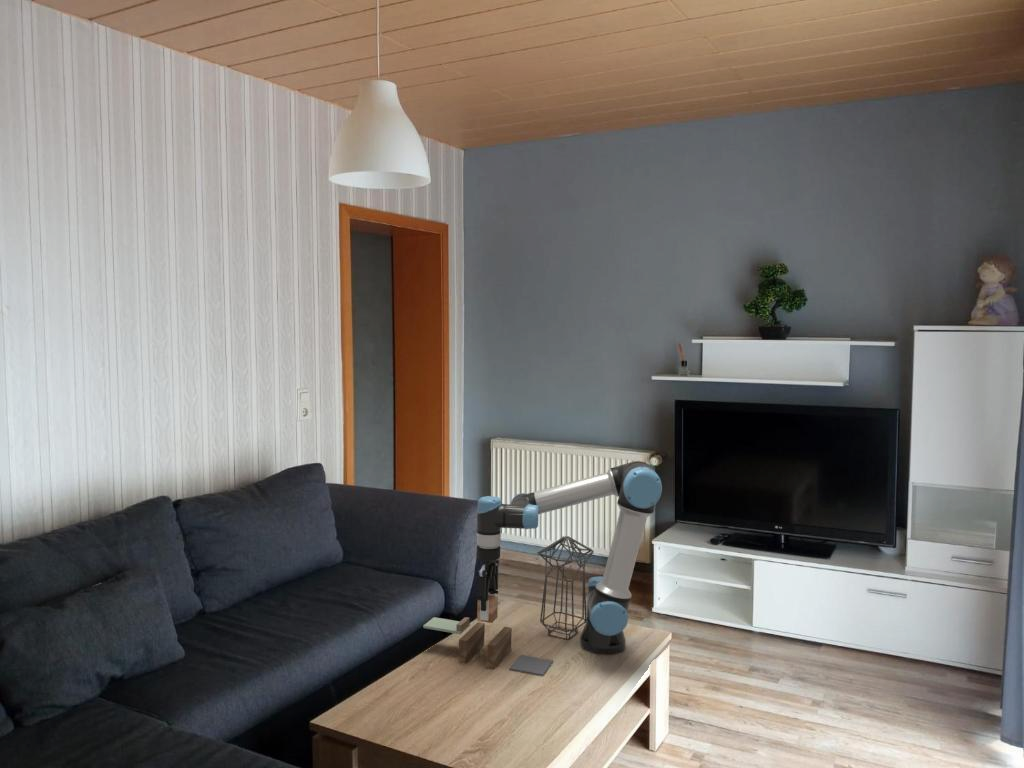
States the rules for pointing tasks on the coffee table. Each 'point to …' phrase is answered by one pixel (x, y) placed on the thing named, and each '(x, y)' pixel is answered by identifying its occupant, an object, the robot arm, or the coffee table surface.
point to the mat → (531, 665)
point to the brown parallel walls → (475, 642)
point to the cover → (448, 625)
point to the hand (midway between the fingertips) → (487, 616)
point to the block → (492, 609)
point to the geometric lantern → (564, 580)
